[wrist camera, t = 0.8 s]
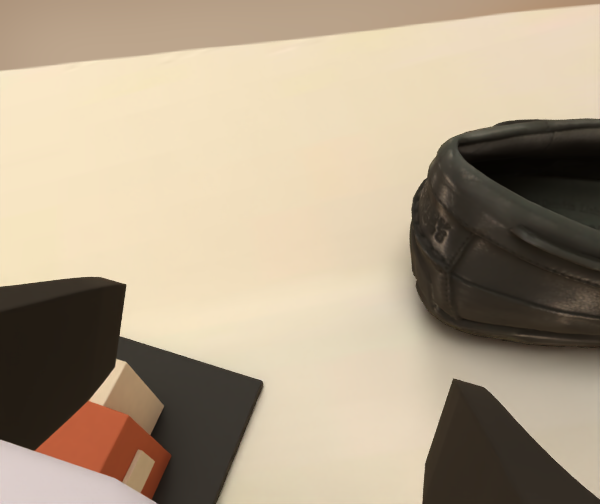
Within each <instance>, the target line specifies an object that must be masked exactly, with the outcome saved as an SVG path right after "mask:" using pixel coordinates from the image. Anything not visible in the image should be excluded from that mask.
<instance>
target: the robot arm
mask: <svg viewBox="0 0 600 504" xmlns="http://www.w3.org/2000/svg"><path fill="white" fill-rule="evenodd" d="M125 291H126V284H122V283H119V282H115V281H112V280H108V279H105V278H102V277H81V278H70V279H61V280H53V281H45V282H37V283H29V284H21V285H13V286H3V287H0V504H158V503H156V502H154V501H153V500H151V499H149V498H148V497H146V496H144V495H143V494H141V493H139V492H138V491H136V490H134V489H133V488H131V487H129V486H127V485H126V484H124V483H122V482H121V481H119V480H117V479H115V478H113V477H110V476H107V475H104V474H101V473H98V472H95V471H92V470H89V469H86V468H83V467H80V466H77V465H74V464H71V463H68V462H65V461H62V460H59V459H56V458H53V457H50V456H47V455H45V454H42V453H39V452H36V451H35V450H36V449H37V448H38V447H39V446H40V445H41V444H43V443H44V442H45V441H46V440H47V439H48V438H49V437H50V436H51V435H52V434H53V433H55V432H56V431H57V430H58V429H59V428H60V427H61V426H62V425H63V424H64V423H65V422H66V421H68V420H69V419H70V418H71V417H72V416H73V415H74V414H75V413H76V412H77V411H78V410H79V409H80V408H81V407H82V406H83V405H84V404H85V403H86V402H88V401H89V400H90V398H91V397H92V396H93V395H94V393H95V392H96V391H97V390H98V389H99V387H100V386H101V385H102V384H103V382H104V381H105V380H106V378H107V377H108V376H109V375H110V373H111V372H112V371H113V369H114V368H115V364H116V357H117V349H118V342H119V335H120V327H121V320H122V313H123V305H124V298H125ZM423 504H600V499H598V498H597V497H596V496H595V495H593V494H592V493H591V492H590V491H588V490H587V489H586V488H585V487H584V486H582V485H581V484H580V483H579V482H578V481H577V480H576V479H574V478H573V477H572V476H571V475H570V474H569V473H568V472H567V471H566V470H565V469H564V468H563V467H561V466H560V465H559V464H558V463H557V462H556V461H555V460H554V459H553V458H552V457H551V456H550V455H549V454H548V453H547V452H546V451H545V450H544V449H543V448H542V447H541V446H540V445H539V444H538V443H537V442H536V441H535V440H534V439H533V438H532V437H531V436H530V435H529V434H528V433H527V432H526V431H525V430H524V428H523V427H522V426H521V425H520V424H519V423H518V422H517V421H516V420H515V419H514V418H513V417H512V415H511V414H510V413H509V412H508V411H507V410H506V409H505V408H504V407H503V406H502V405H501V403H500V402H499V401H498V400H497V399H496V398H495V397H494V396H493V395H492V394H491V393H490V392H489V391H488V390H486V389H485V388H484V387H481V386H478V385H474V384H471V383H467V382H464V381H460V380H457V379H453V381H452V384H451V387H450V390H449V393H448V396H447V399H446V402H445V405H444V408H443V411H442V414H441V417H440V420H439V423H438V426H437V429H436V432H435V435H434V438H433V441H432V445H431V448H430V451H429V454H428V457H427V460H426V463H425V474H424V487H423Z"/></svg>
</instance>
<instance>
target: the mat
mask: <svg viewBox="0 0 600 504" xmlns="http://www.w3.org/2000/svg"><path fill="white" fill-rule="evenodd" d="M116 359H118V360H121V361H124V362H127V364H128V365H129V366H130V367H131V368H132V369H133V370H134V372H135V373H136V374H137V375H138V376H139V377H140V379H141V380H142V381H143V382H144V383H145V384H146V385H147V387H148V388H149V389H150V390H151V391H152V392H153V393H154V395H155V396H156V397H157V398H158V399H159V400H160V402H161V403H162V404H163V405H164V408H163V410H162V412H161V414H160V416H159V418H158V420H157V422H156V424H155V426H154V428H153V430H152V432H151V435H150V436H151V437H153V438H154V439H155V440H156V441H157V442H158V443H159V444H160V445H161V446H162V447H163V448H164V449H165V450H166V451H167V452H169V453H170V454H171V458H170V460H169V462H168V465H167V467H166V469H165V471H164V473H163V476H162V478H161V480H160V482H159V484H158V487H157V489H156V491H155V493H154V495H153V498H152V500H153V501H154V502H156V503H158V504H216V502H217V499H218V497H219V494H220V492H221V489H222V487H223V484H224V482H225V479H226V477H227V474H228V472H229V469H230V467H231V464H232V462H233V459H234V457H235V454H236V452H237V449H238V447H239V444H240V442H241V439H242V437H243V434H244V432H245V429H246V426H247V424H248V421H249V419H250V416H251V414H252V411H253V409H254V406H255V404H256V401H257V399H258V396H259V394H260V391H261V389H262V386H263V382H262V381H261V380H258V379H254V378H251V377H248V376H245V375H242V374H238V373H235V372H232V371H229V370H226V369H222V368H219V367H216V366H213V365H210V364H206V363H203V362H200V361H197V360H194V359H190V358H187V357H184V356H181V355H178V354H175V353H171V352H168V351H165V350H162V349H159V348H155V347H152V346H149V345H146V344H143V343H139V342H136V341H133V340H130V339H127V338H123V337H120V336H119V342H118V349H117V357H116Z"/></svg>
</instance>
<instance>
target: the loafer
mask: <svg viewBox="0 0 600 504" xmlns="http://www.w3.org/2000/svg"><path fill="white" fill-rule="evenodd" d="M410 250H411V261H412V271H413V274H414V276H415V277H416V279H417V281H416V288H417V292H418V294H419V296H420V299H421V301H422V302H423V304H424V305H425V307H426V308H427V310H428V311H429V312H430V313H431V314H432V315H433V316H435V317H436V318H437V319H439V320H440V321H441V322H443V323H445V324H446V325H449V326H451V327H453V328H455V329H457V330H459V331H463V332H466V333H469V334H473V335H478V336H483V337H491V338H501V339H502V340H506V341H513V342H520V343H526V344H535V345H546V346H577V347H584V348H593V347H600V119H569V120H538V119H534V120H515V121H506V122H502V123H498V124H496V125H494V126H493V127H488V128H482V129H478V130H474V131H469V132H465V133H463V134H460V135H457V136H455V137H452V138H450V139H449V140H447V141H446V142H445V143H444V144H442V145H441V147H440V148H439V150H438V152H437V156H436V157H435V158H434V160H433V161H432V163H431V164H430V166H429V170H428V175H427V178H426V179H425V180H424V181H423V182H422V184H421V185H420V187H419V188H418V190H417V192H416V193H415V195H414V198H413V204H412V221H411V225H410Z"/></svg>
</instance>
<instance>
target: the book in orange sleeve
mask: <svg viewBox="0 0 600 504" xmlns="http://www.w3.org/2000/svg"><path fill="white" fill-rule="evenodd" d="M163 408H164V405H163V404H162V403H161V402H160V400H159V399H158V398H157V397H156V396H155V395H154V393H153V392H152V391H151V390H150V389H149V388H148V387H147V385H146V384H145V383H144V382H143V381H142V380H141V379H140V377H139V376H138V375H137V374H136V373H135V372H134V370H133V369H132V368H131V367H130V366H129V365H128V364H127V362H124V361H121V360H118V359H116V364H115V368H114V369H113V371H112V372H111V373H110V375H109V376H108V377H107V378H106V380H105V381H104V382H103V384H102V385H101V386H100V387H99V389H98V390H97V391H96V392H95V393H94V395H93V396H92V397H91V398H90V400H89V401H88V402H86V403H85V404H84V405H83V406H82V407H81V408H80V409H79V410H78V411H77V412H76V413H75V414H74V415H73V416H72V417H71V418H70V419H69V420H68V421H66V422H65V423H64V424H63V425H62V426H61V427H60V428H59V429H58V430H57V431H56V432H55V433H53V434H52V435H51V436H50V437H49V438H48V439H47V440H46V441H45V442H44V443H43V444H41V445H40V446H39V447H38V448H37V449H36V450H35V451H36V452H39V453H42V454H45V455H47V456H50V457H53V458H56V459H59V460H62V461H65V462H68V463H71V464H74V465H77V466H80V467H83V468H86V469H89V470H92V471H95V472H98V473H101V474H104V475H107V476H110V477H113V478H115V479H117V480H119V481H121V482H122V483H124V484H126V485H127V486H129V487H131V488H133V489H134V490H136V491H138V492H139V493H141V494H143V495H144V496H146V497H148V498H149V499H151V500H152V498H153V495H154V493H155V491H156V489H157V487H158V484H159V482H160V480H161V478H162V476H163V473H164V471H165V469H166V467H167V465H168V462H169V460H170V458H171V454H170V453H169V452H167V451H166V450H165V449H164V448H163V447H162V446H161V445H160V444H159V443H158V442H157V441H156V440H155V439H154V438H153V437H151V436H150V435H151V432H152V430H153V428H154V426H155V424H156V422H157V420H158V418H159V416H160V414H161V412H162V410H163Z"/></svg>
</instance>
